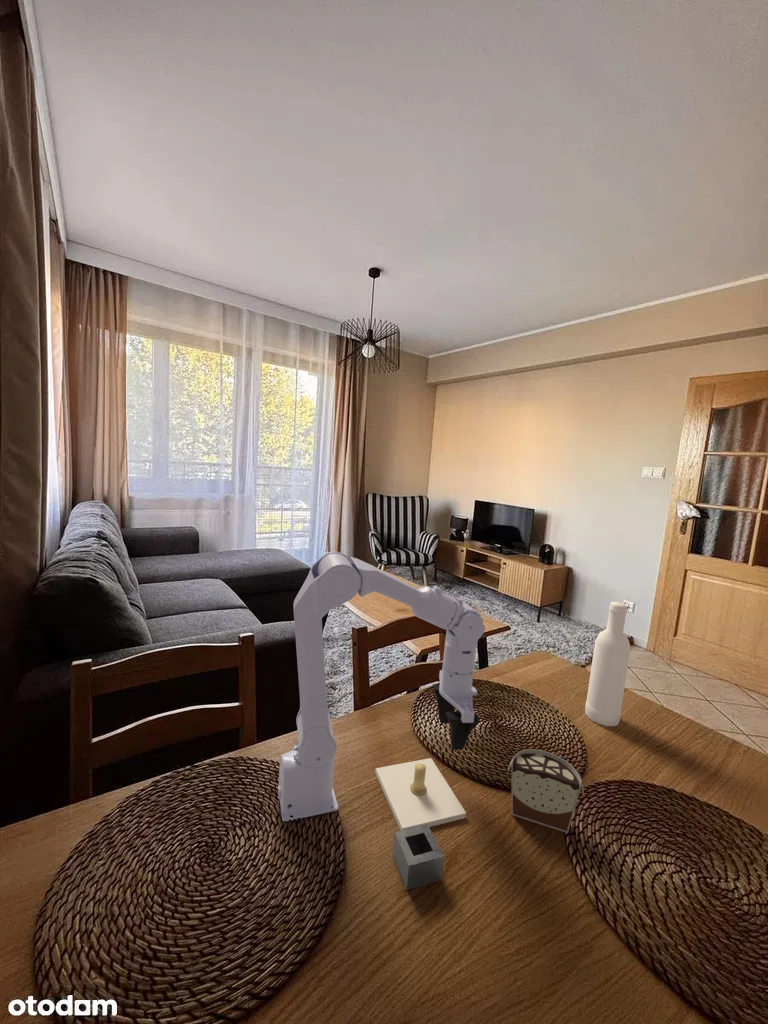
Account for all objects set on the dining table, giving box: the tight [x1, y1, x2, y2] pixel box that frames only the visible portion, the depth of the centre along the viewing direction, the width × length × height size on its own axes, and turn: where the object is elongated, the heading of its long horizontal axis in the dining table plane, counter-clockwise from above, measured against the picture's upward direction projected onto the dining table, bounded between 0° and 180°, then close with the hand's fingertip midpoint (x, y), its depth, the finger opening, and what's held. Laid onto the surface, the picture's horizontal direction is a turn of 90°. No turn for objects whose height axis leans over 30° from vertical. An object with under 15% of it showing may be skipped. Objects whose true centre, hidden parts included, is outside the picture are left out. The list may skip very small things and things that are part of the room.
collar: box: [392, 825, 445, 891], centre depth 64 cm, size 6×6×4 cm
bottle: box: [584, 601, 632, 728], centre depth 106 cm, size 8×8×30 cm
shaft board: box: [374, 758, 467, 831], centre depth 78 cm, size 12×14×6 cm
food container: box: [507, 748, 585, 834], centre depth 76 cm, size 12×6×10 cm, turn 71°
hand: (450, 734), depth 81 cm, fingers open, 7 cm apart
